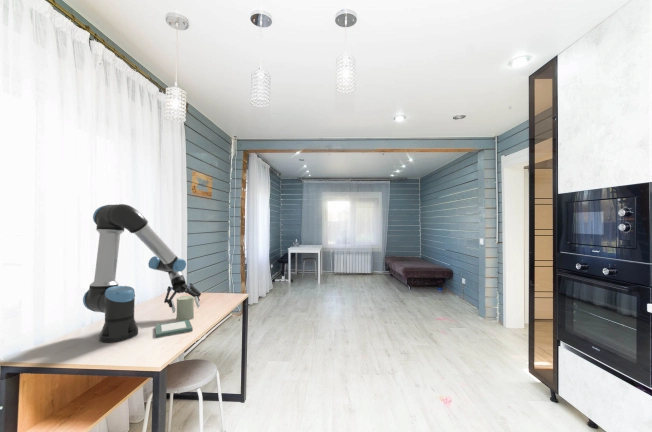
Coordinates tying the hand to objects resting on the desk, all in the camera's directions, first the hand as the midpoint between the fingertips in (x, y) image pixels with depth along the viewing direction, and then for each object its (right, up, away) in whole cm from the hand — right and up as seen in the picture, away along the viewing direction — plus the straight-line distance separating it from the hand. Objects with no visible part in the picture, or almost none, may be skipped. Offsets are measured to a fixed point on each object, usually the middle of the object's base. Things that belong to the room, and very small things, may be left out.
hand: (186, 308), depth 166 cm
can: (-1, -6, +1) cm, 6 cm away
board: (+2, -5, -18) cm, 19 cm away
